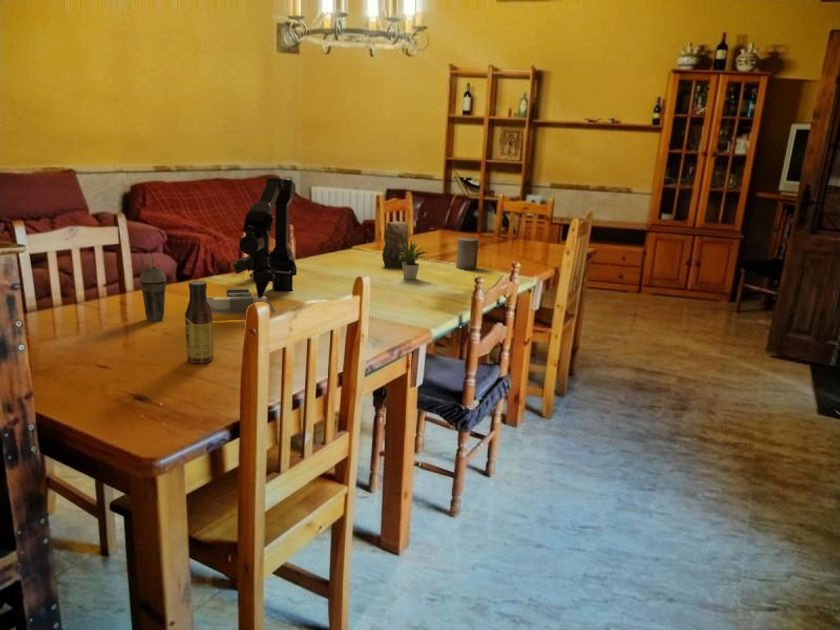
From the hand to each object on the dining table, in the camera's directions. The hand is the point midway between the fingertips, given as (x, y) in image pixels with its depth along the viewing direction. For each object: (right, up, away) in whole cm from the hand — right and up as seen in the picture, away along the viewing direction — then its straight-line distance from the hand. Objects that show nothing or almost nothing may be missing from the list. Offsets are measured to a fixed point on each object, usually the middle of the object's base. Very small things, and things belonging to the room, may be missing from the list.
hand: (259, 297), depth 202 cm
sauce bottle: (-2, -17, -48) cm, 51 cm away
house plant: (+47, +9, +59) cm, 76 cm away
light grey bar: (-6, -3, -1) cm, 7 cm away
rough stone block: (+41, +16, +84) cm, 95 cm away
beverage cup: (-26, -7, -18) cm, 32 cm away
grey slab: (-7, -3, +2) cm, 8 cm away
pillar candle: (+73, +16, +91) cm, 118 cm away
